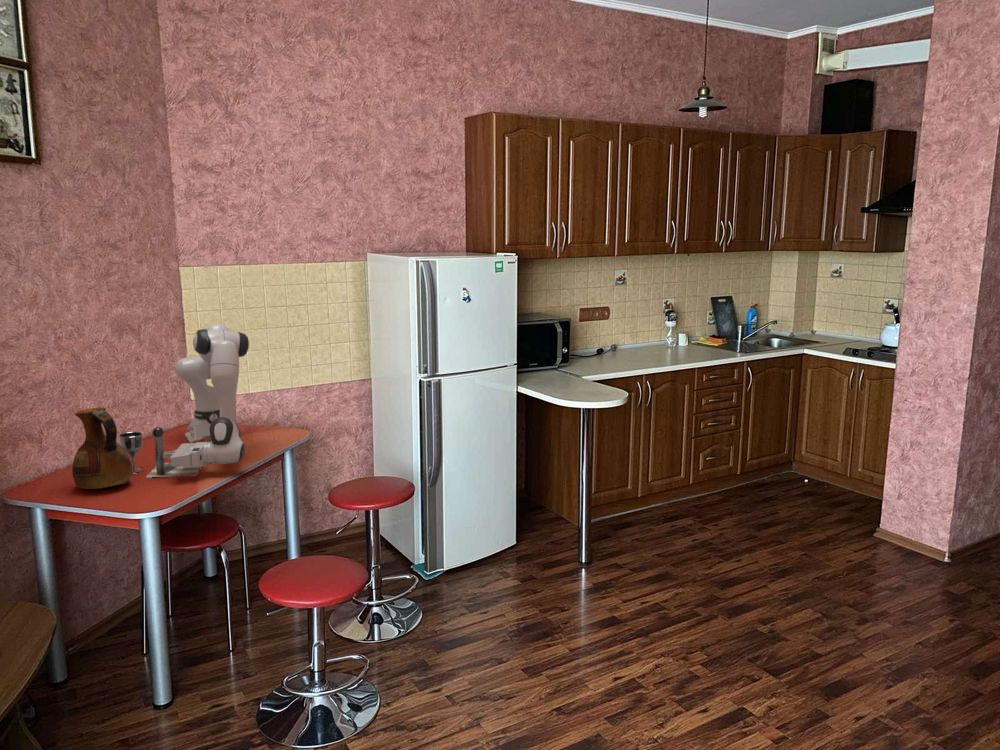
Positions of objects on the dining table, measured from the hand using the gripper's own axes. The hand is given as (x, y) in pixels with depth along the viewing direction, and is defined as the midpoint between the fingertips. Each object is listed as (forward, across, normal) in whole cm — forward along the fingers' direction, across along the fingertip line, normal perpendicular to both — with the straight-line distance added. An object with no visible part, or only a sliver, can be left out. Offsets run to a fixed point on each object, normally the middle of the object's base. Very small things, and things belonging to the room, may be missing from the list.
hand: (163, 455), depth 297 cm
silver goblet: (+14, -8, +9) cm, 18 cm away
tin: (-9, -25, +9) cm, 28 cm away
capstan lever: (-1, -8, +8) cm, 11 cm away
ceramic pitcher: (+19, +10, +9) cm, 23 cm away
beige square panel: (-3, -7, +9) cm, 11 cm away
